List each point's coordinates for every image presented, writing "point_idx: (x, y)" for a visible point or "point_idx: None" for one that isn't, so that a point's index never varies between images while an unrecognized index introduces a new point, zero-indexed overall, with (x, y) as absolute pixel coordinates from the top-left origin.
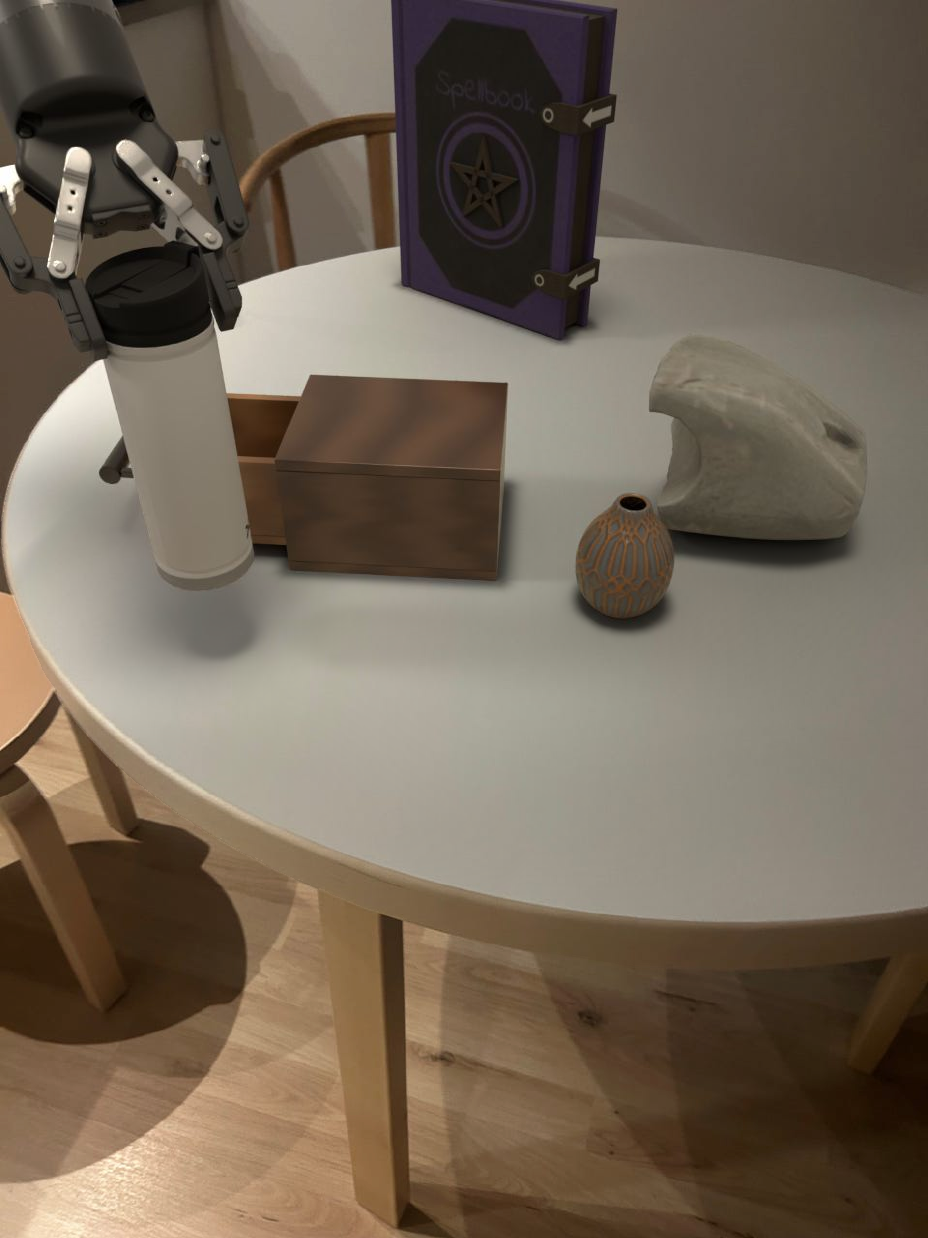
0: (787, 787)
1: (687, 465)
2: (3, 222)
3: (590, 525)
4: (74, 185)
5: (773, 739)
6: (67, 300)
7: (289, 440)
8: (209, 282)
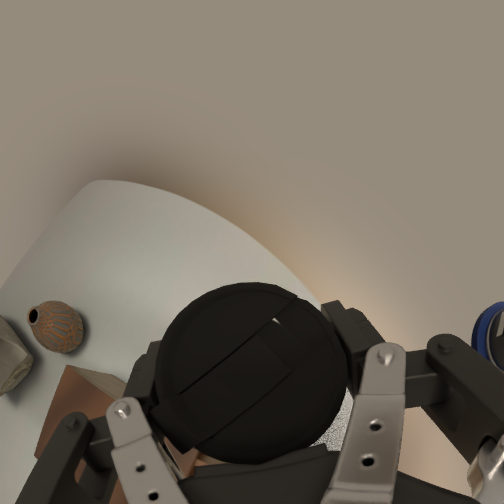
0: (86, 220)
1: (4, 358)
2: (487, 387)
3: (54, 334)
4: (364, 477)
5: (75, 240)
6: (371, 337)
7: (182, 469)
8: None
